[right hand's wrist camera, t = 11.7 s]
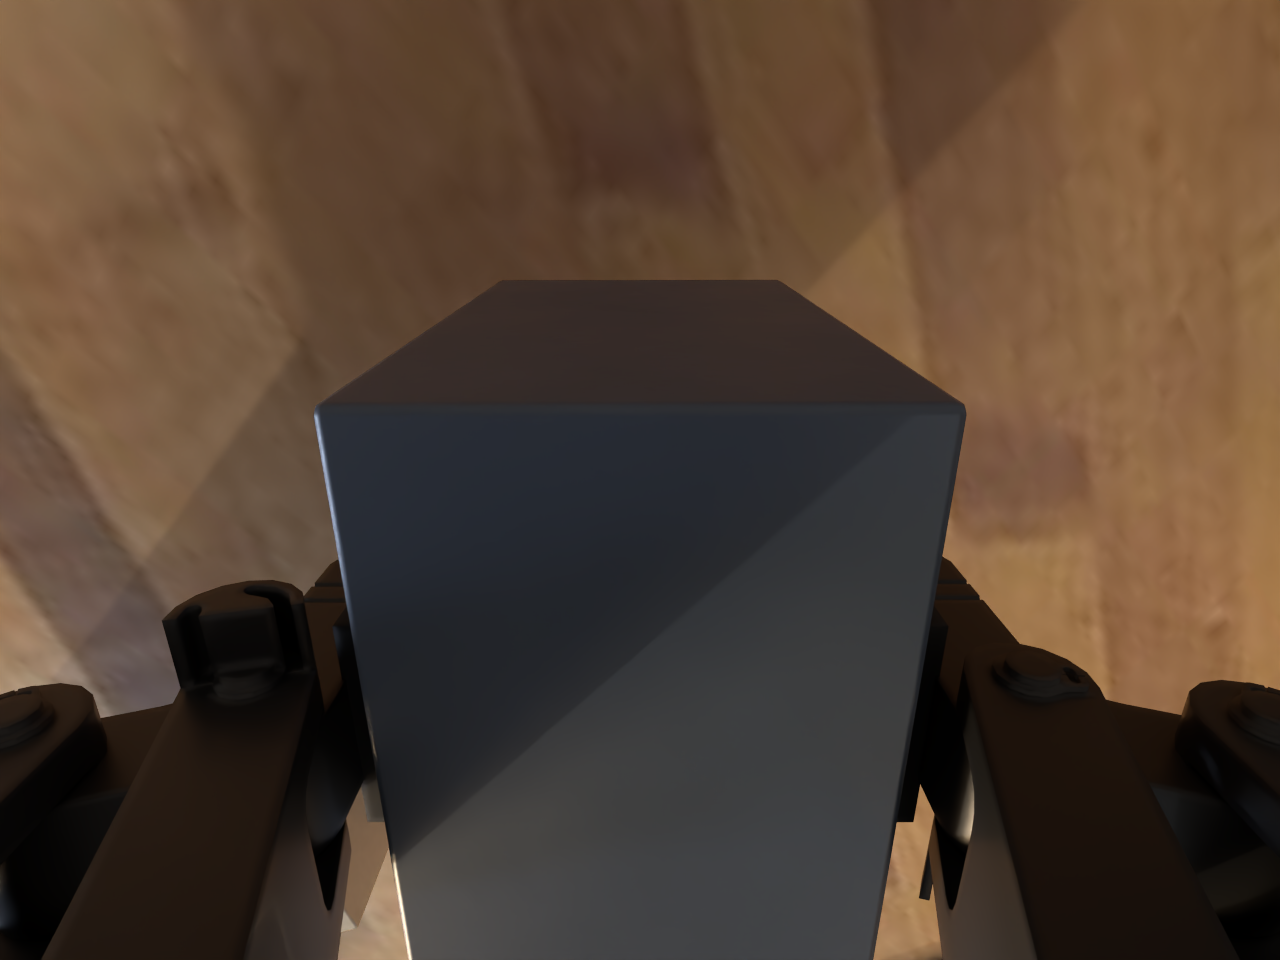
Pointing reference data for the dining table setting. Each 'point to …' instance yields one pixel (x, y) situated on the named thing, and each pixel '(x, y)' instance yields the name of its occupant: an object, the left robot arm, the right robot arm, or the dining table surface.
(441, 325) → the grey long box
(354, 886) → the white ceramic cube
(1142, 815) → the right robot arm
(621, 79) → the dining table surface
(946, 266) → the dining table surface
